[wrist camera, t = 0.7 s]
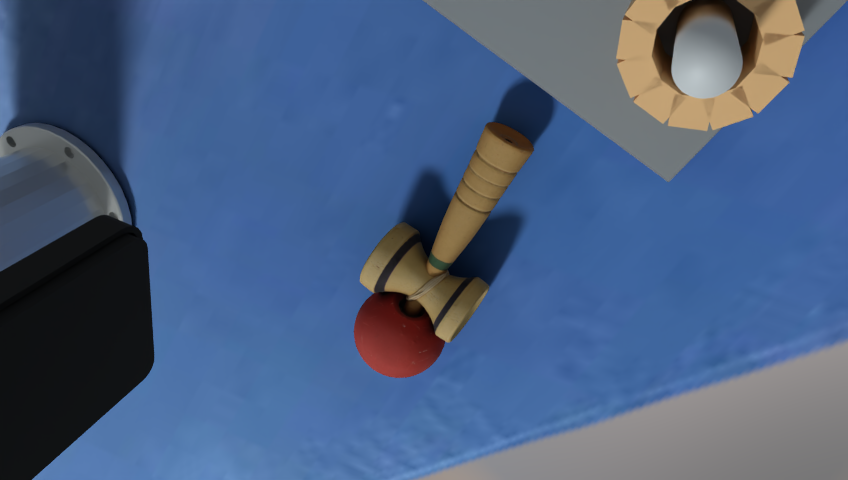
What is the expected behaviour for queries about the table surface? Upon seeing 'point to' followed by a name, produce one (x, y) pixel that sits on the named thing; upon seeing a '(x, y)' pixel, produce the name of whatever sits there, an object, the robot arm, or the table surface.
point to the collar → (756, 86)
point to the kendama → (433, 267)
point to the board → (597, 65)
